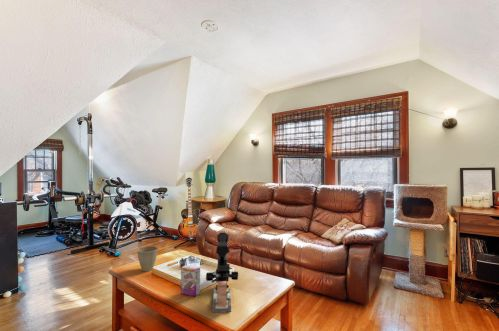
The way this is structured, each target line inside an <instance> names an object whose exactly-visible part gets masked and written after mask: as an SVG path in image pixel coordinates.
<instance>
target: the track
mask: <svg viewBox="0 0 499 331" xmlns="http://www.w3.org/2000/svg"><path fill="white" fill-rule="evenodd" d="M227 289H228V291H227V300H228V308H225V309H215V306H216V300H217V289H216V288H214V289H213V298H212V313H225V312H227V313H228V312H232V297H231V296H232V293H231V292H232V291H231V288H227Z"/></svg>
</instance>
